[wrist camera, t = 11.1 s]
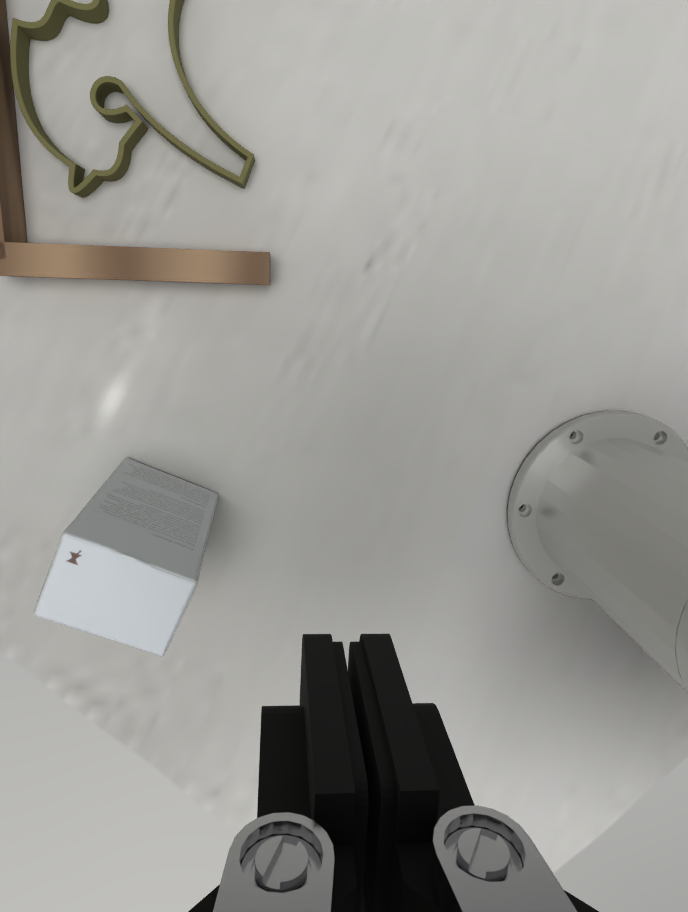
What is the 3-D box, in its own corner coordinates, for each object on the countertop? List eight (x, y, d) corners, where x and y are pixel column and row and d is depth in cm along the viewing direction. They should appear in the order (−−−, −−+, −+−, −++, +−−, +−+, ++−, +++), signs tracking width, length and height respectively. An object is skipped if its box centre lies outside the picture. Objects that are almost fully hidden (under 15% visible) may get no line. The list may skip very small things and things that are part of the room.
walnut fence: (271, -211, 30) (270, -264, 27) (270, 285, 36) (269, 284, 33) (-55, -249, 28) (-92, -310, 26) (-1, 275, 34) (-27, 274, 31)
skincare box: (101, 517, 38) (26, 615, 27) (126, 455, 37) (59, 528, 26) (196, 553, 39) (163, 661, 28) (222, 493, 39) (199, 580, 27)
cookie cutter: (248, 226, 35) (246, 222, 33) (22, 188, 34) (7, 181, 32) (290, -157, 31) (291, -186, 29) (34, -222, 29) (17, -258, 27)
